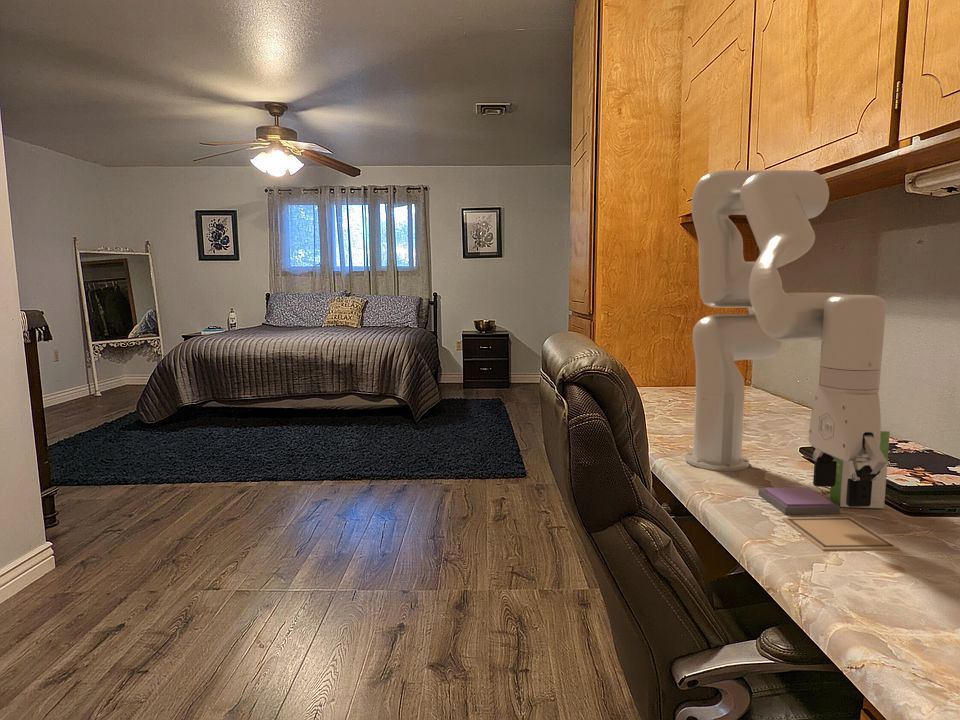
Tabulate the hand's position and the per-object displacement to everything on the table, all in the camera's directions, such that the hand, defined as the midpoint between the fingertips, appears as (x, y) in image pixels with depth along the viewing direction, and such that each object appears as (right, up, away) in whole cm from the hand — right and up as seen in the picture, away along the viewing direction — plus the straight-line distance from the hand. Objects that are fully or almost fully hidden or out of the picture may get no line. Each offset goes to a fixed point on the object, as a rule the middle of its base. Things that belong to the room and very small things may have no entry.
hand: (840, 494), depth 87 cm
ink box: (+10, -5, +12) cm, 17 cm away
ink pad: (0, -5, +13) cm, 13 cm away
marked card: (0, -6, +1) cm, 6 cm away
